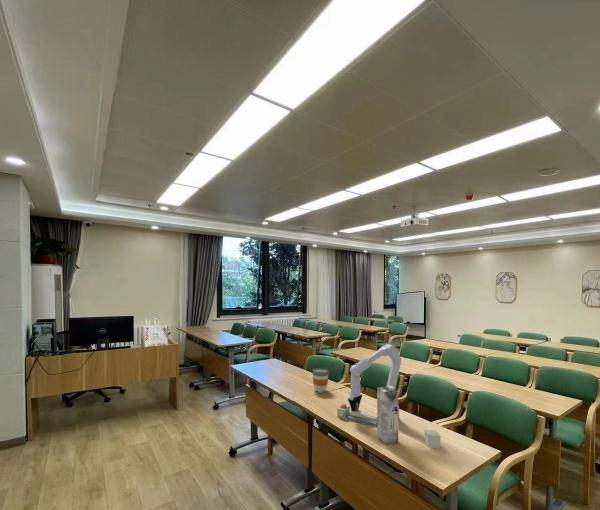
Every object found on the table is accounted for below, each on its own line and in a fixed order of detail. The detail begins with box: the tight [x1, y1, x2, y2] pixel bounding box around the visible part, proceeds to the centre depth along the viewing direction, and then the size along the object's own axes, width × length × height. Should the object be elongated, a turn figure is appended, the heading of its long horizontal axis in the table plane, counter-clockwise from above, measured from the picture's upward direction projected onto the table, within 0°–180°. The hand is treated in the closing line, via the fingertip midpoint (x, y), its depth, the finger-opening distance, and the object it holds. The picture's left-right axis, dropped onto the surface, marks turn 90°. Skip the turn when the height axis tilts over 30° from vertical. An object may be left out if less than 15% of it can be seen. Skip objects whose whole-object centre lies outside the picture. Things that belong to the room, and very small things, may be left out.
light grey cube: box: [423, 429, 442, 449], centre depth 163 cm, size 6×6×6 cm
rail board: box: [344, 411, 377, 427], centre depth 192 cm, size 18×10×3 cm, turn 61°
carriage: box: [350, 403, 362, 417], centre depth 195 cm, size 5×4×7 cm
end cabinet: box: [336, 404, 351, 419], centre depth 198 cm, size 5×8×5 cm, turn 151°
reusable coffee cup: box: [312, 368, 330, 393], centre depth 247 cm, size 13×13×15 cm
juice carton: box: [376, 386, 399, 445], centre depth 168 cm, size 9×10×27 cm
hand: (355, 409), depth 195 cm, fingers open, 7 cm apart
